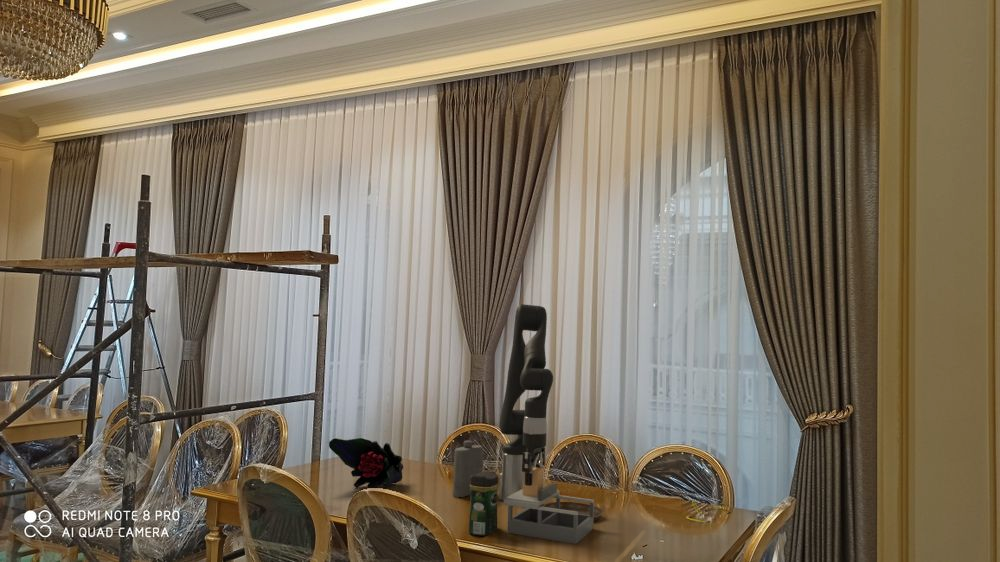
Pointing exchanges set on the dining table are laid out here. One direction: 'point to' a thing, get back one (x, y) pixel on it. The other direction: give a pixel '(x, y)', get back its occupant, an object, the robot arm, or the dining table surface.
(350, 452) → the decorative plant
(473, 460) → the flask
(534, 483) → the module
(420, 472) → the dining table surface
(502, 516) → the dining table surface
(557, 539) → the case
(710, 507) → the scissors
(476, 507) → the coffee jar
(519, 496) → the lid
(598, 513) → the plant saucer
